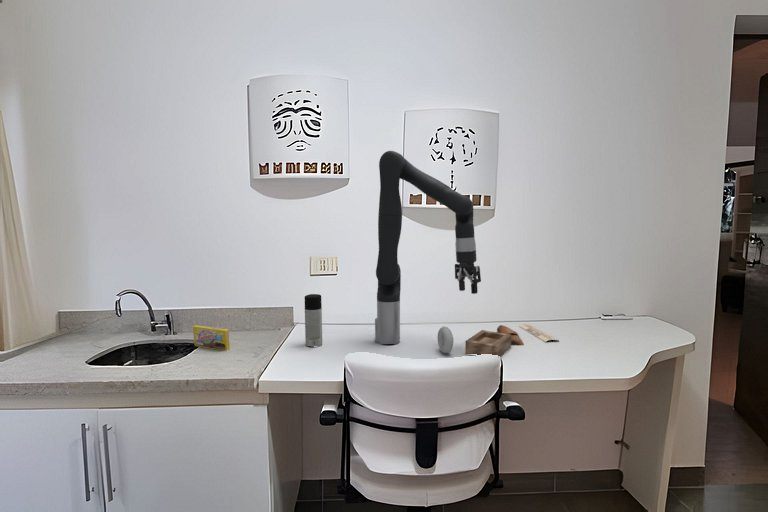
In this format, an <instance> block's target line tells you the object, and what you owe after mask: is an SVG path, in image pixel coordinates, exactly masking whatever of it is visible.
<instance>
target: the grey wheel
mask: <svg viewBox="0 0 768 512" xmlns="http://www.w3.org/2000/svg"><path fill="white" fill-rule="evenodd" d="M437 345H438V347H439V350H440V351H441V352H442V353H443V354H445V355H446V354H450V353H451V352H452V350H453V348H454V337H453V333H452V330H451V329H450V328H449V327H448V326H442V327H440V328H439V330H438V333H437Z"/></svg>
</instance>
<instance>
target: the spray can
mask: <svg viewBox="0 0 768 512" xmlns="http://www.w3.org/2000/svg"><path fill="white" fill-rule="evenodd" d="M322 310H323V309H322V295H321V294H319V293H317V294H316V293H310V294H306V295H305V296H304V327H305V329H304V332H305V333H304V335H305V346H306V345H307V346H311V347H310V348H315V347H314V346H319V347H321V346H322V345H323V311H322ZM320 345H321V346H320ZM307 346H306V347H307Z"/></svg>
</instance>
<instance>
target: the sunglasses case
mask: <svg viewBox="0 0 768 512" xmlns="http://www.w3.org/2000/svg"><path fill="white" fill-rule="evenodd" d="M496 328H497V329H496V332H498V333H504V334H511V346H525V343H524V342H523V340H522V339H521V337H520V335H519V334H518V332H517V331H516V330H513V329H511V328H510V327H509V326H506V325H502V324H501V325H498V326H497V327H496Z"/></svg>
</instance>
